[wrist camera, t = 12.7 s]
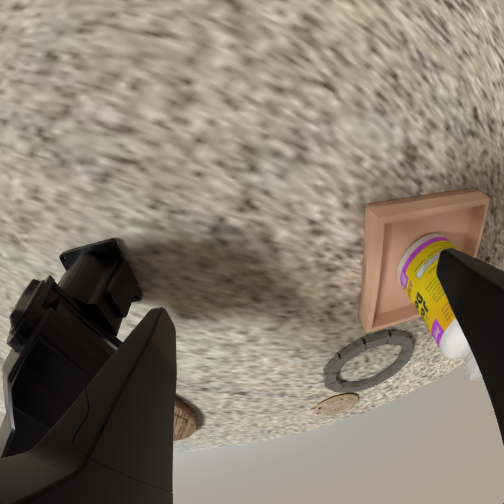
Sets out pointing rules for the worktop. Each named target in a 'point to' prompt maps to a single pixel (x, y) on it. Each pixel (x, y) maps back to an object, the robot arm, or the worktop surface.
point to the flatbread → (336, 405)
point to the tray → (402, 237)
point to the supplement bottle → (434, 298)
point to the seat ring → (360, 347)
